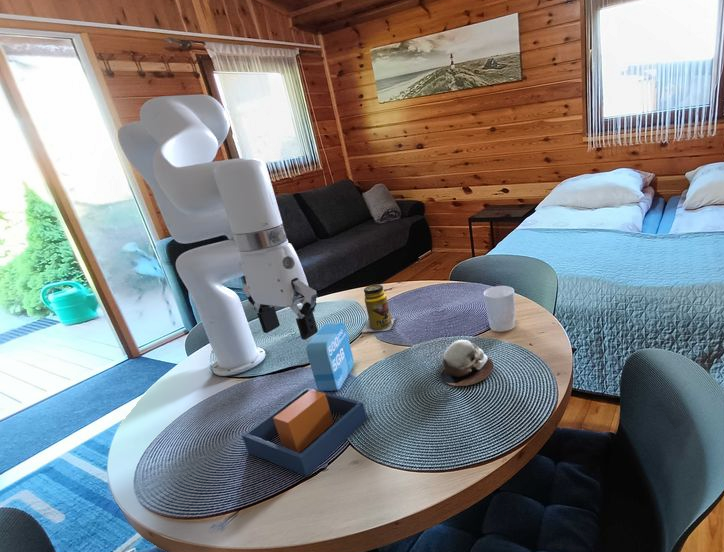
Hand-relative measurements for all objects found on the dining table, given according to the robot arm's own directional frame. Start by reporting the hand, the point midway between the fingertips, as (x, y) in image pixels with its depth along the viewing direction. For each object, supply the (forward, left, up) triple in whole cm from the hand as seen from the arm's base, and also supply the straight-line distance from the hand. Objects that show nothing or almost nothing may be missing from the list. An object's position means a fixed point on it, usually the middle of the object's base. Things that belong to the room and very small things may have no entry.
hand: (290, 332), depth 76 cm
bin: (-1, -2, -21) cm, 21 cm away
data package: (-10, +15, -22) cm, 28 cm away
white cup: (+17, +49, -22) cm, 56 cm away
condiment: (-18, +40, -22) cm, 49 cm away
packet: (-1, -2, -21) cm, 21 cm away
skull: (+18, +27, -22) cm, 39 cm away
